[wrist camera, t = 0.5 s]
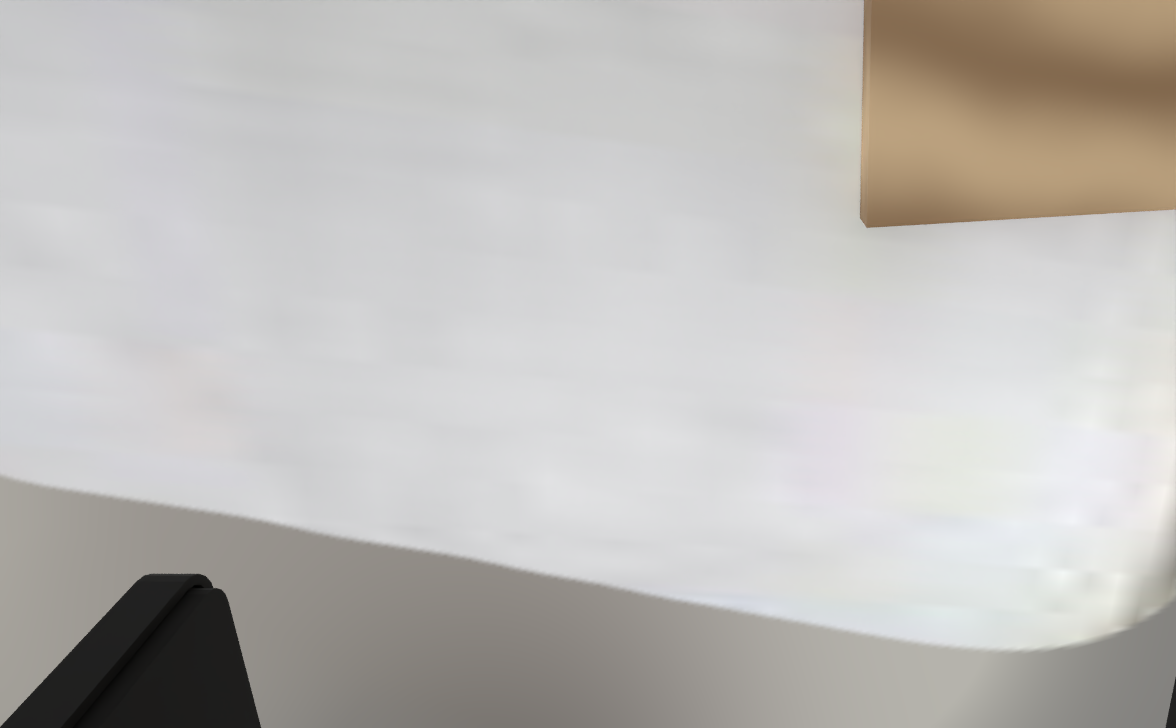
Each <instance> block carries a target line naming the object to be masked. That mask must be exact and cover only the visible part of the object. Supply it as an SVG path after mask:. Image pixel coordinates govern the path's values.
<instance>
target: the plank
mask: <svg viewBox="0 0 1176 728" xmlns="http://www.w3.org/2000/svg"><path fill="white" fill-rule="evenodd" d="M1172 209H1176V0H864V42H863V95H862V149H861V202H860V219H861V220H862V221H863V223H864V224H865V226H866V227H867V228H870V227H887V226H903V225H920V224H937V223H954V222H971V221H987V220H1004V219H1021V218H1038V217H1055V216H1071V215H1088V214H1105V213H1122V212H1139V211H1155V210H1172Z"/></svg>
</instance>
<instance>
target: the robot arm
mask: <svg viewBox="0 0 1176 728" xmlns="http://www.w3.org/2000/svg"><path fill="white" fill-rule="evenodd" d="M0 728H261V726H260V722H259V718H258V714H257V710H256V707H255V703H254V699H253V695H252V691H251V687H250V683H249V680H248V676H247V672H246V668H245V664H244V660H243V656H242V653H241V649H240V645H239V641H238V637H237V633H236V629H235V626H234V622H233V618H232V614H231V610H230V606H229V602H228V599H227V597H226V595H225V593H224V592H223V591H222V590H221V589H217V588H213V586H212V583H211V582H210V580H209V579H208V578H207V577H206V576H204V575H201V574H149V575H145V576H143V577H142V578H141V579H139V580H138V581H137V582H136V583H135V584H134V585H133V586H132V587H131V588H130V589H129V590H128V591H127V592H126V593H125V594H124V596H122V598H121V599H120V600H119V601H118V602H117V603H116V604H115V605H114V606H113V607H112V608H111V609H110V610H109V612H107V614H106V615H105V616H104V617H103V618H102V619H101V620H100V621H99V622H98V623H97V624H96V625H95V626H94V628H92V630H91V631H90V632H89V633H88V634H87V635H86V636H85V637H84V638H83V639H82V640H81V641H80V642H79V643H78V645H77V646H76V647H75V648H74V649H73V650H72V651H71V652H70V653H69V654H68V655H67V656H66V657H65V659H63V661H62V662H61V663H60V664H59V665H58V666H57V667H56V668H55V669H54V670H53V671H52V672H51V673H50V674H49V675H48V677H47V678H46V679H45V680H44V681H43V682H42V683H41V684H40V685H39V686H38V687H37V688H36V689H35V691H33V693H32V694H31V695H30V696H29V697H28V698H27V699H26V700H25V701H24V702H23V703H22V704H21V705H20V706H19V707H18V709H17V710H16V711H15V712H14V713H13V714H12V715H11V716H10V717H9V718H8V719H7V720H6V721H5V722H4V723H3V725H2V726H1V727H0ZM1166 728H1176V679H1175V684H1174V689H1173V694H1172V699H1171V703H1170V709H1169V713H1168V718H1167V723H1166Z"/></svg>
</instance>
